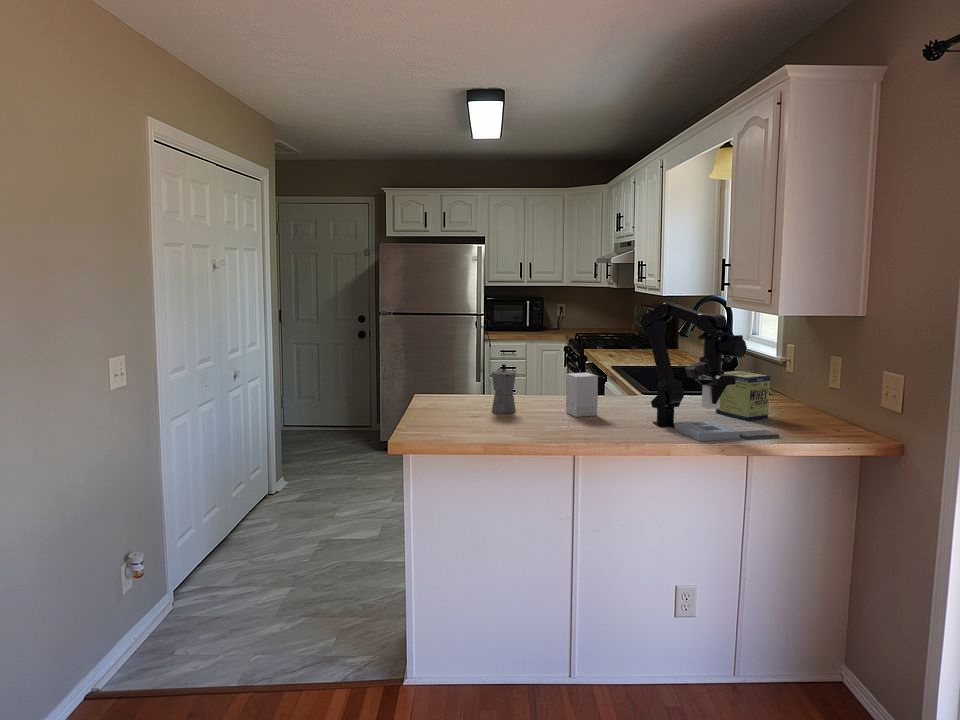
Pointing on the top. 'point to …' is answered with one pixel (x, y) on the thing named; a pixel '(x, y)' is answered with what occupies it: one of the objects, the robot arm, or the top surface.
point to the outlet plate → (707, 430)
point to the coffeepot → (503, 391)
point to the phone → (757, 434)
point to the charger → (708, 398)
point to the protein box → (746, 396)
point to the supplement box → (581, 394)
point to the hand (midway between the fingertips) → (710, 402)
